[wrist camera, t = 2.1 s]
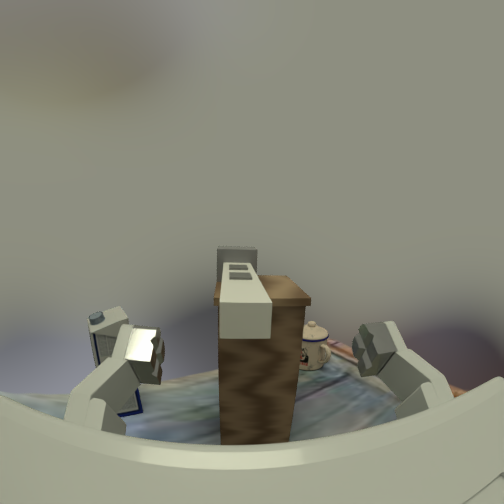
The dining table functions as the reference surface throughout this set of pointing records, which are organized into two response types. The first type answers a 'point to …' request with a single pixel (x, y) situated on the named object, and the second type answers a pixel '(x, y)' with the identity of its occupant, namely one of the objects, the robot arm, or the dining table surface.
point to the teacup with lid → (314, 347)
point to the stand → (262, 370)
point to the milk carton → (110, 347)
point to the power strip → (242, 295)
